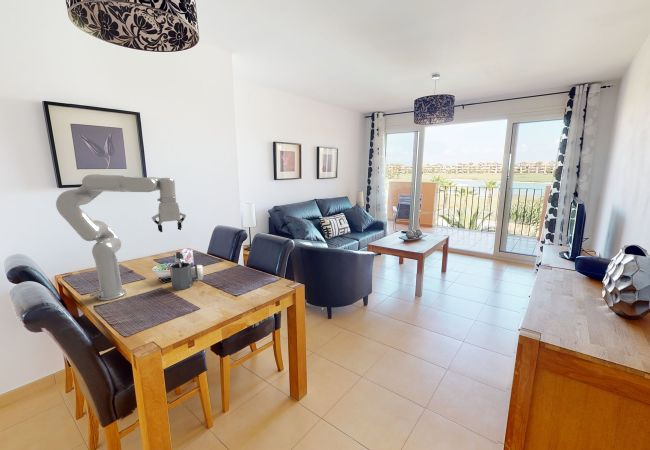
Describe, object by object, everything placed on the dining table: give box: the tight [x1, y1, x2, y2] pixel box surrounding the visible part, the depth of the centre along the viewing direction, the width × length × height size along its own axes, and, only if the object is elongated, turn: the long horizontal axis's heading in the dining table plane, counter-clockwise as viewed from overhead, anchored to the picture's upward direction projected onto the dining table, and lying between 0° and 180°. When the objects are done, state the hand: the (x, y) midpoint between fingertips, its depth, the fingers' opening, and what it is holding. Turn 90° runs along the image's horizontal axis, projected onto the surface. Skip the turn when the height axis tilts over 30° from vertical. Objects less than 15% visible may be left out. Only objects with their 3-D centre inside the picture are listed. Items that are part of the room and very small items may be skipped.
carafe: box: [169, 263, 198, 291], centre depth 169 cm, size 14×10×13 cm
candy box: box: [173, 248, 195, 265], centre depth 186 cm, size 14×6×16 cm, turn 179°
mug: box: [191, 264, 204, 282], centre depth 181 cm, size 7×9×8 cm
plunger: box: [174, 251, 185, 268], centre depth 167 cm, size 8×8×20 cm
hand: (170, 230), depth 160 cm, fingers open, 9 cm apart
